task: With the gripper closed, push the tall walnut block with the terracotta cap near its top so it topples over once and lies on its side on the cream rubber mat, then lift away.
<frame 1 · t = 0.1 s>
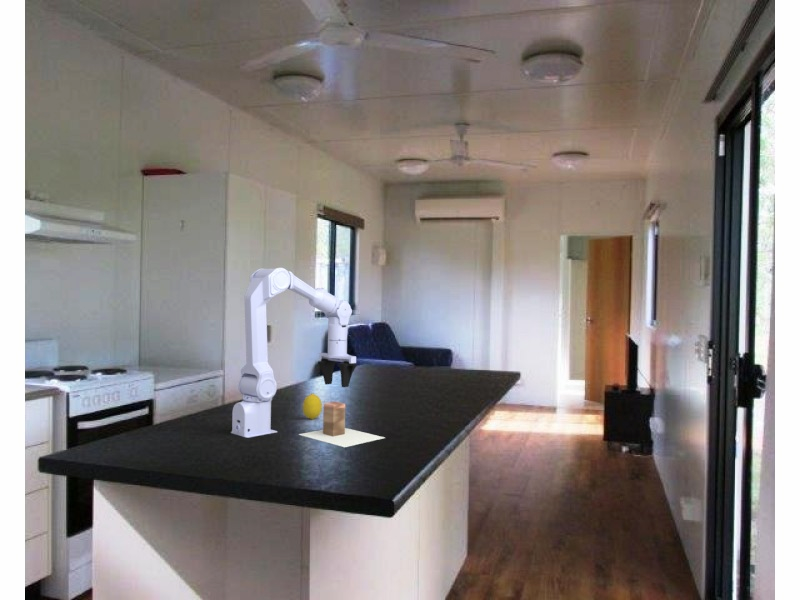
hand: (336, 385, 172), 10 cm above the table, fingers open, 7 cm apart
mat: (341, 437, 148), on the table
walnut block: (333, 434, 150), resting on mat
lemon: (312, 421, 169), on the table
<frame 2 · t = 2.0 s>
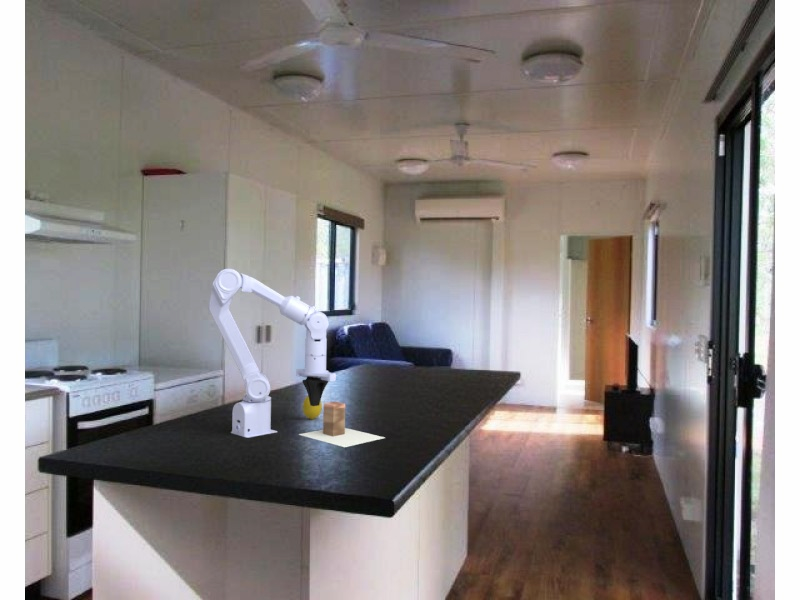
hand: (314, 405, 156), 7 cm above the table, fingers closed
nothing on the table moved.
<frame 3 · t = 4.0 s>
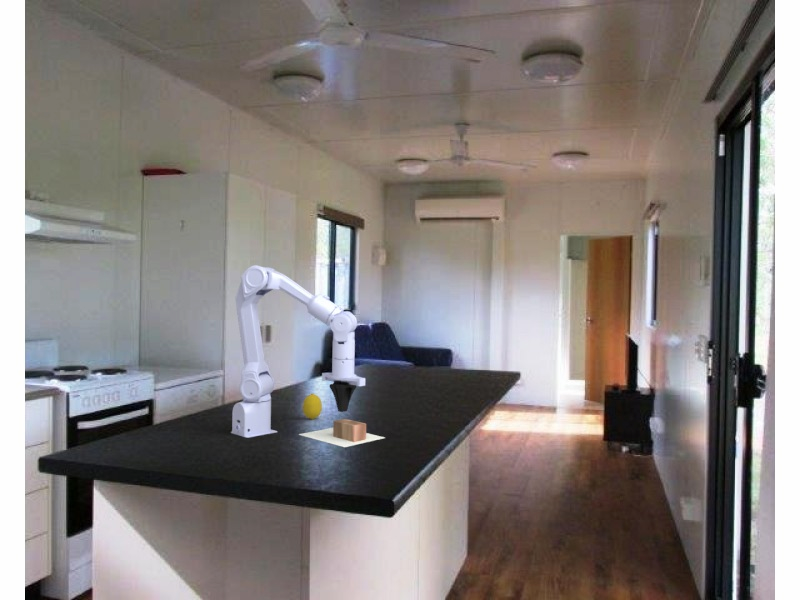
hand: (342, 411, 148), 7 cm above the table, fingers closed
walnut block: (339, 427, 149), point 2 cm above the table, tilted 90°, touching mat
everything else where it was.
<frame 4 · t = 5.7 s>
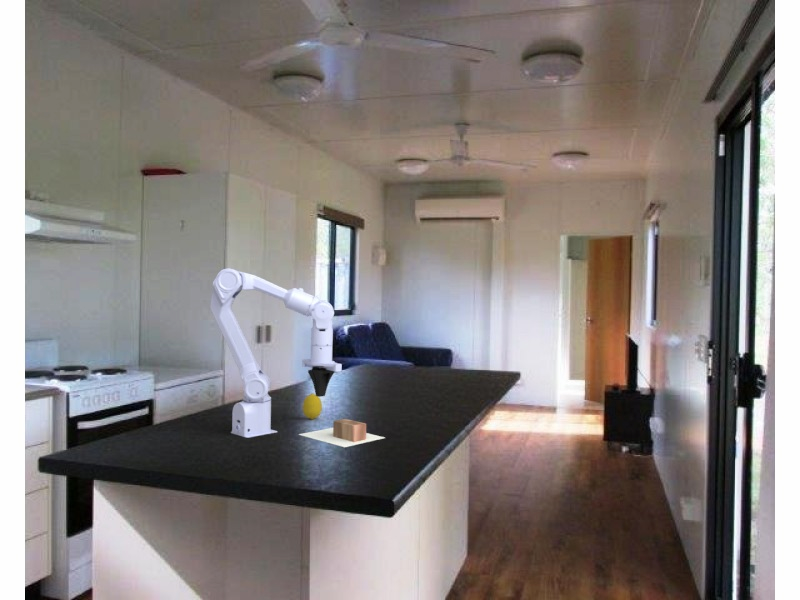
hand: (320, 396, 154), 10 cm above the table, fingers closed
nothing on the table moved.
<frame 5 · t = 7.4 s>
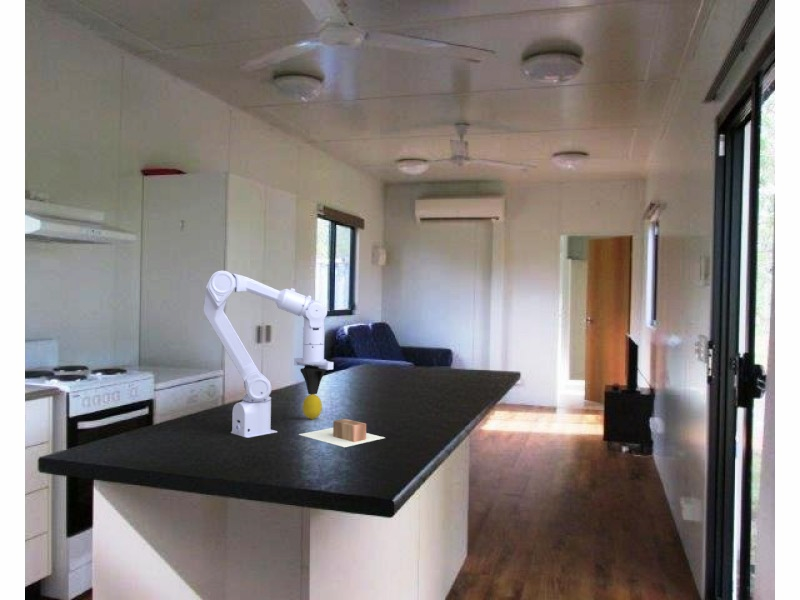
hand: (312, 393, 157), 10 cm above the table, fingers closed
nothing on the table moved.
at the end: walnut block tilted 90°; walnut block inside the target area (0.7 cm from its centre), point 2.5 cm above the table; walnut block touching mat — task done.
